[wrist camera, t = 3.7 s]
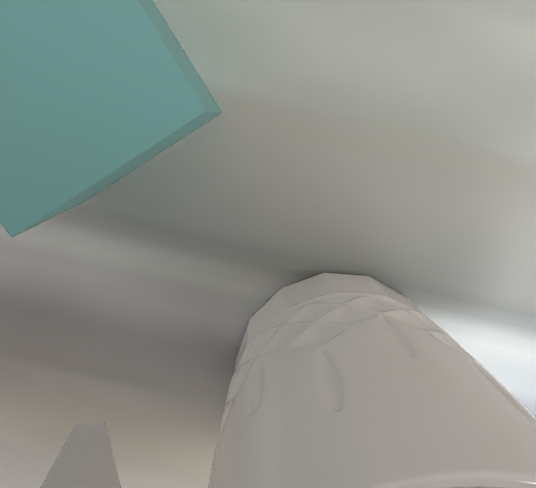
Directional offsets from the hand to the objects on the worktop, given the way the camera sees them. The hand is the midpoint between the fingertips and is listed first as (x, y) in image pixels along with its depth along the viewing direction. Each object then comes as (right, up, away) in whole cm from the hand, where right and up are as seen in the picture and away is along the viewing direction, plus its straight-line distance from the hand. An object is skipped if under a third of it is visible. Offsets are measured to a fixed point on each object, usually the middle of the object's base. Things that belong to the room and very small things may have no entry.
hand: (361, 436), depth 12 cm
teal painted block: (-7, +10, +2) cm, 12 cm away
